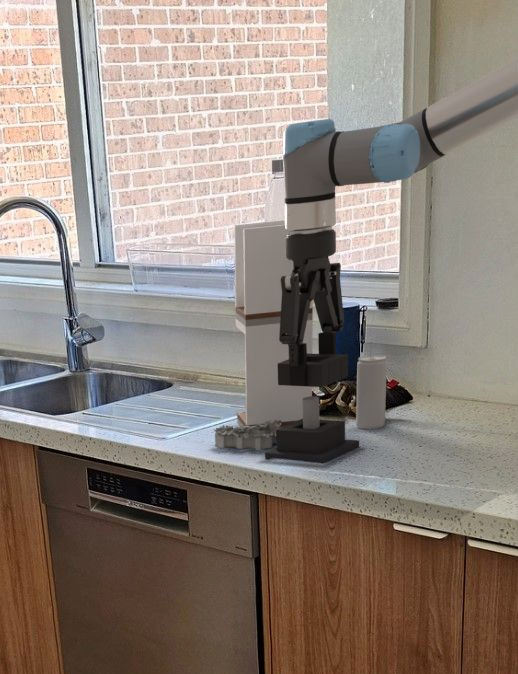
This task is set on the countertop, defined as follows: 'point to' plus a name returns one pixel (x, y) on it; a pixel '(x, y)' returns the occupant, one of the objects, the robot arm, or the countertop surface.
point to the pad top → (318, 369)
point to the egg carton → (247, 436)
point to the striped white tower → (265, 323)
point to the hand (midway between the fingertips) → (313, 379)
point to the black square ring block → (310, 437)
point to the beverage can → (371, 392)
